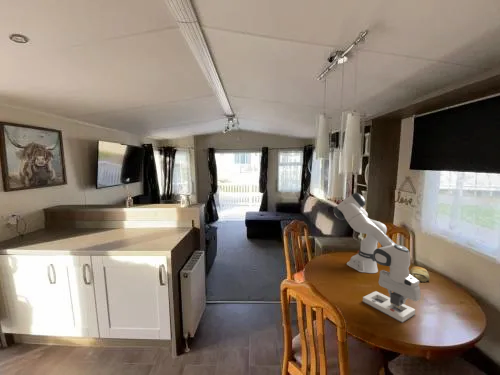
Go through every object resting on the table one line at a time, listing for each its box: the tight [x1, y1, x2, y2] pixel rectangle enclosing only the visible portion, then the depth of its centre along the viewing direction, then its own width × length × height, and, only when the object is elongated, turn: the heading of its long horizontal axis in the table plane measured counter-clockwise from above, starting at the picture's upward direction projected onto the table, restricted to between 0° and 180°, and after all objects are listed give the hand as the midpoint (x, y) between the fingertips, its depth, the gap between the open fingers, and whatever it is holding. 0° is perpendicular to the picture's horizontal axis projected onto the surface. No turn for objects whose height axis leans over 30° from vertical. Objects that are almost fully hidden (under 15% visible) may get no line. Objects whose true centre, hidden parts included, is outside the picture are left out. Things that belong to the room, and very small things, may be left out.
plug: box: [389, 291, 405, 308], centre depth 131 cm, size 4×6×6 cm
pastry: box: [409, 266, 431, 283], centre depth 171 cm, size 14×12×8 cm
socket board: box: [362, 290, 416, 324], centre depth 136 cm, size 22×13×4 cm, turn 31°
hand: (397, 300), depth 131 cm, fingers closed on plug, 4 cm apart
